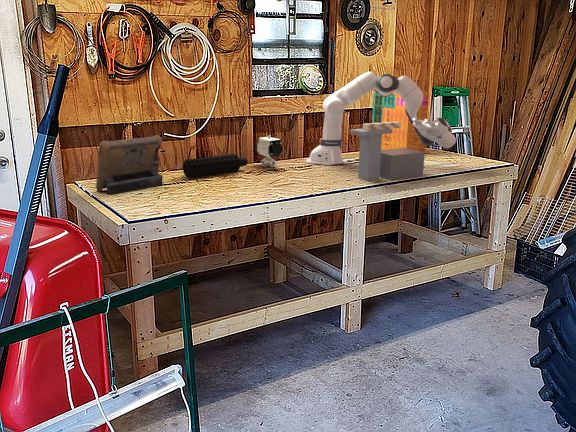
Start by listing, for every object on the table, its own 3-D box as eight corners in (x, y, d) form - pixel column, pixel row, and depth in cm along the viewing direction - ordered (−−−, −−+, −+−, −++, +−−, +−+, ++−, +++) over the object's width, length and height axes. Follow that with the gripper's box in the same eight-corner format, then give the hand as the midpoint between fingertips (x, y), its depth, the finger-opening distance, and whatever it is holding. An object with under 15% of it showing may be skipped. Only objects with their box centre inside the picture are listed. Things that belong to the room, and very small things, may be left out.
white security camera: (254, 164, 336) (254, 134, 331) (266, 162, 341) (266, 133, 336) (270, 169, 322) (270, 138, 317) (283, 167, 327) (283, 137, 322)
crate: (403, 170, 323) (404, 147, 319) (422, 175, 310) (424, 152, 306) (371, 174, 312) (372, 150, 308) (390, 179, 299) (391, 155, 295)
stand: (377, 175, 310) (380, 127, 303) (389, 178, 302) (392, 129, 295) (347, 178, 301) (349, 129, 293) (359, 182, 292) (361, 131, 285)
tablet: (150, 180, 292) (147, 132, 285) (167, 184, 284) (165, 134, 277) (94, 192, 268) (89, 139, 261) (111, 196, 259) (106, 142, 252)
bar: (395, 127, 304) (395, 121, 304) (400, 128, 301) (400, 122, 300) (362, 129, 294) (362, 123, 293) (367, 130, 290) (367, 124, 290)
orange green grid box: (370, 147, 399) (373, 89, 388) (389, 145, 409) (392, 89, 398) (405, 154, 372) (409, 92, 361) (424, 152, 382) (429, 91, 371)
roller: (240, 165, 326) (243, 149, 321) (249, 173, 319) (252, 157, 314) (180, 173, 303) (182, 156, 298) (189, 181, 297) (191, 164, 292)
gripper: (424, 124, 326) (409, 112, 318) (450, 128, 309) (435, 116, 301) (419, 133, 326) (404, 122, 318) (445, 138, 309) (430, 127, 301)
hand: (419, 119), depth 309 cm, fingers open, 8 cm apart
